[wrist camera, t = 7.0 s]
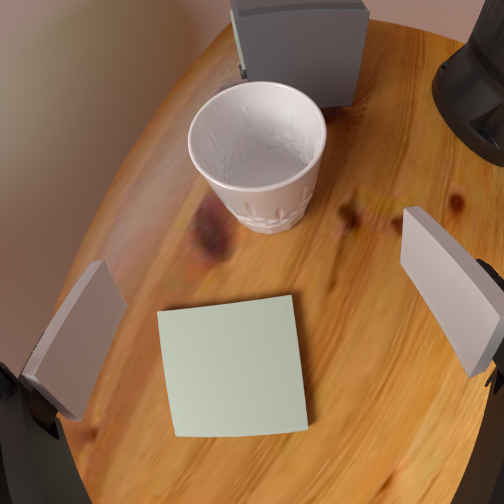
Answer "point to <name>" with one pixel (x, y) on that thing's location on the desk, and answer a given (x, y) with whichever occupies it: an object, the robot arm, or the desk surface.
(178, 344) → the coaster
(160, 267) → the desk surface
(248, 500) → the desk surface
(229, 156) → the white cup
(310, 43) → the block
